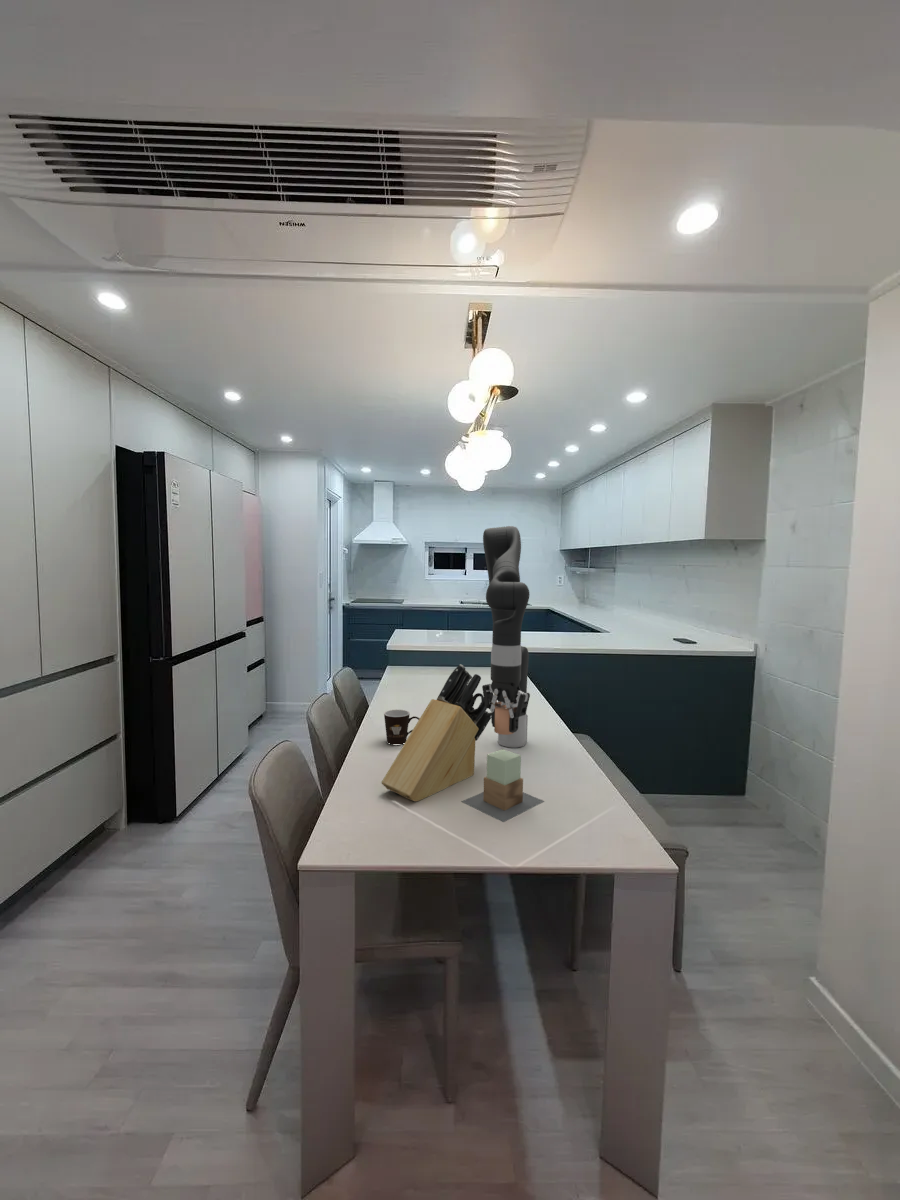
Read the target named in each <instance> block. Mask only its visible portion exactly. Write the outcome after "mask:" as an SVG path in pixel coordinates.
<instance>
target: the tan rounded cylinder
mask: <svg viewBox="0 0 900 1200" xmlns="http://www.w3.org/2000/svg"><path fill="white" fill-rule="evenodd" d="M513 710H514V708H513ZM509 720H510V714H509V710H508V709H507V707H506V705H499V706H496V707H495V725H494V727H493V728H494V729H493V731H494V733H496V734H497V735H498V734H502V735H509V734H513V733H514V732H513V733H511V732H509Z"/></svg>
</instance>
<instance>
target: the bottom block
mask: <svg viewBox="0 0 900 1200" xmlns="http://www.w3.org/2000/svg"><path fill="white" fill-rule="evenodd" d="M483 792H484V796H483V801H485V802H487V803H489V804H491V805H494V806H496V807H498V808H500V809H502V810H504V811H505V810H507V809H509V808H511V807H513V806H515V805H517V804H519V803H521V802H523V792H524V778H522V777H520V779H518V780H516V781H514V782H512V783H509V784H507V785H503V784H500V783H498V782H496V781H493V780H491V779H488V778H487V776H484V777H483Z"/></svg>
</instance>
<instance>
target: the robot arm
mask: <svg viewBox="0 0 900 1200" xmlns="http://www.w3.org/2000/svg"><path fill="white" fill-rule="evenodd" d="M482 534H483V535H482V543H483V551H484V557H485V562H486V568H487V569H486V570H487V576H488V583H489V584H488V586H487V590H486V594H485V602H486V604H487V606H488V607H489V608H490V611H491V618H492V643H491V644H492V645H491V651H490V653H491V654H490V681H491V683H487V684H484V685H482V686H481V687H482V688H481V689H482V695H483V696H484V702H485V707H486V708H487V709H489V710H490V711H489V712H490V713H492V717H491V719H490V722H491V726H492V727H493V728H494V725H495V707H496V706H499V705H506V707H507V709H508V710H509V714H510V720H509V732H511V733H513V732H514V733H513V734H509V735H502V734H498V733H497V743H498V744H499V745H500V746H501V747H506V748H521V747H524V746H526V743H528V725H529V724H528V719H529V715H528V714H527V710H528V707H529V706H528V705H529V700H530V697H531V694H530V692H528V691H527V690H528V673H529V672H528V671H529V662H530V661H529V659H530V657H529V655H530V654H529V649H528V648H527V647H526V646H522V642H521V640H522V625H523V620H524V615H525V612H526V610H527V607H528V603H529V601H530V589H529V587H528V585H527V584H526V583H524V582H522V581H521V578H520V577H521V576H520V561H521V560H520V559H521V554H522V553H521V552H522V540H521V534H520V530H519V528H518V527H517V526H514V525H508V526H507V525H506V526H498V527H488V528H486V529H484V530H483V533H482ZM489 700H490V703H489ZM513 708H514V710H513Z"/></svg>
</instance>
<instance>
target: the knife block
mask: <svg viewBox="0 0 900 1200" xmlns="http://www.w3.org/2000/svg"><path fill="white" fill-rule="evenodd" d="M481 680H482V677H481V676H480V675H479V674H477V673H476V674H473V676H472V675H471V674H470V673H469V671H467V670H466V667H465V666H464V665H463V664H461V663H460V664H459V665H458V666H457V667H456V668H455V669H454V670H453V671H452V672H451V673H450V674H449V677H448V678H447V680H446V681H445V683H444V685H443V687H442V689H441V691H440V692H439V694H438V695H437V698H436V699H434V698H432V699H431V700H430V701H429V703H427V704H428V705H427V706H426V708H425V709H424V711H423V713H422V714H421V716H420V717H419V718H420V719H419V720H418V721H417V722H416V724H415V726H414V727H413V729H411V730H412V732H411V733H409V734H408V736H407V739H406V742H405V744H403V746H402V747H401V749H400V750H399V752H398V753H397V756H396V757H395V759H394V761H393V763H392V764H391V765H390V767H389V768H388V770H387V772H386V774H385V776H384V778H383V779H382V781H381V783H380V784H382V786H383V787H385V788H386V789H387V790H389V791H391V792H393V793H396V794H398V795H400V796H402V797H403V798H406V799H408V800H410V801H413V802H415V803H416V802H419V801H422V800H424V799H426V798H428V797H430V796H432V795H435V794H437V793H439V792H441V791H443V790H445V789H447V788H449V787H451V786H452V785H455V784H458V783H459V782H461V781H464V780H466V779H468V778H471V777H473V776H474V775H475V763H476V762H475V757H476V755H475V754H476V741H478V740H479V738H480V736H481V735H482V733H483V732H484V731H485V729H486V727H487V725H488V724H489V722H491V717H492V712H489V711H488V710H487V709H488V708H486V707H485V702H484V695H483V693H480V692H477V693H475V692H476V690H477V688H478V686H479V685H480V682H481ZM474 693H475V694H474ZM479 697H481V702H480V703H479V706H478V707H477V708H474V705H475V704H476V703H475V702H476V701H477V698H479ZM489 703H490V700H489Z"/></svg>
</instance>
